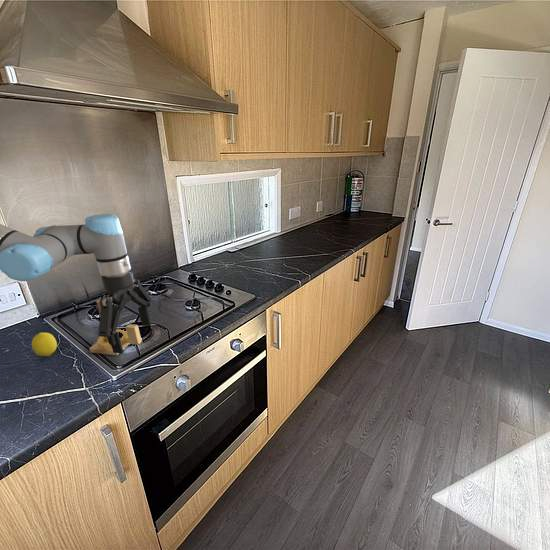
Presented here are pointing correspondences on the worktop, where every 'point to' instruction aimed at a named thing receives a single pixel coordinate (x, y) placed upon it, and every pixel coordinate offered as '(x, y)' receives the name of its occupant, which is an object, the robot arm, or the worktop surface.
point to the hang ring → (123, 337)
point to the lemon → (44, 344)
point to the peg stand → (96, 348)
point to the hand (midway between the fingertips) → (133, 338)
